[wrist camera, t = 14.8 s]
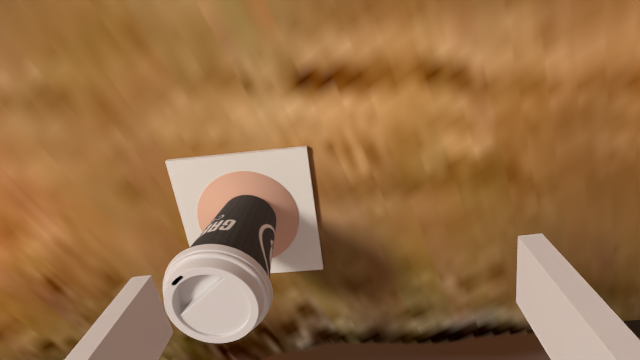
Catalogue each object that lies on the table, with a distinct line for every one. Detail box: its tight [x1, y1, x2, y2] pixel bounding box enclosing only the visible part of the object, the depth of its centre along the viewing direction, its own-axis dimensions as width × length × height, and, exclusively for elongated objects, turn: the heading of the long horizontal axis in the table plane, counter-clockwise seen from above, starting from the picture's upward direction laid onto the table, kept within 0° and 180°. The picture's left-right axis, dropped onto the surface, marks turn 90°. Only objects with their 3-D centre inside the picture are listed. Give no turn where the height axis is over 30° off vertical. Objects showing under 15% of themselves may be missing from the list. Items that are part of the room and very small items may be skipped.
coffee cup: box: [163, 195, 276, 343], centre depth 39 cm, size 10×10×15 cm
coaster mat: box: [165, 146, 323, 273], centre depth 46 cm, size 16×16×1 cm
